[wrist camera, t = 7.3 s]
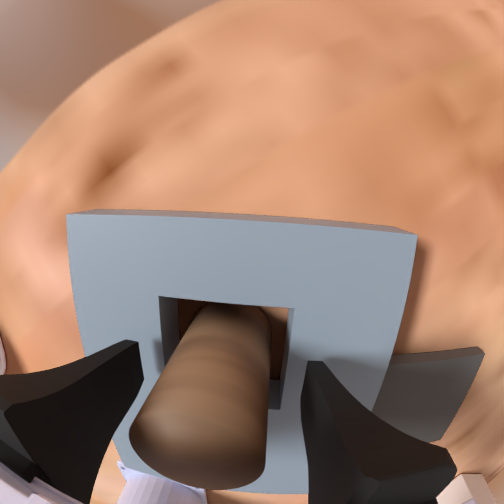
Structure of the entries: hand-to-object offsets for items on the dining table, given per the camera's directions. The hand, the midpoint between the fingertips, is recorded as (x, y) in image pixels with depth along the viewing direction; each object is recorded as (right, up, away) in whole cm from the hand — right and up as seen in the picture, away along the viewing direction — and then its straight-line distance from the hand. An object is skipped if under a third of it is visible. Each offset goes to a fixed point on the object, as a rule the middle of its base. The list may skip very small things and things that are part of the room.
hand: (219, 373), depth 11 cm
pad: (+12, -5, +4) cm, 13 cm away
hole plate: (0, -2, +4) cm, 5 cm away
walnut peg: (0, +1, +3) cm, 3 cm away
